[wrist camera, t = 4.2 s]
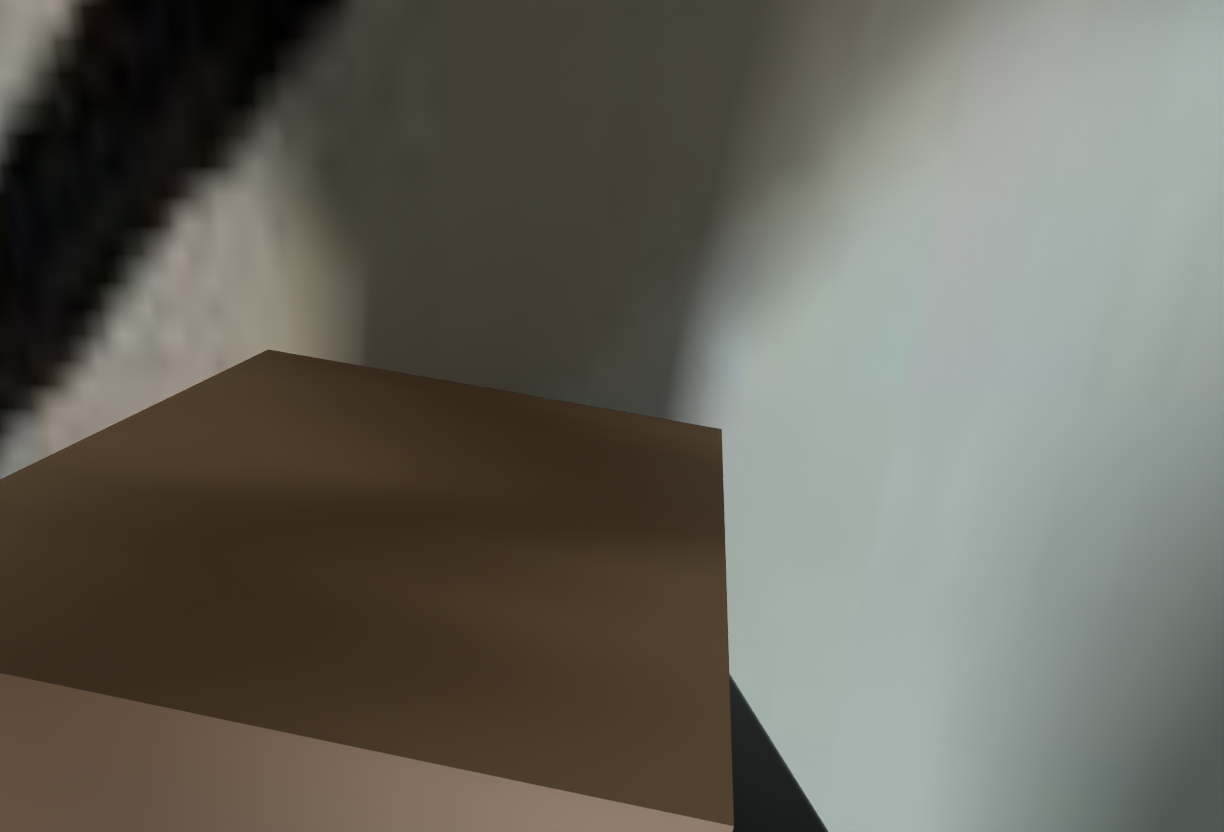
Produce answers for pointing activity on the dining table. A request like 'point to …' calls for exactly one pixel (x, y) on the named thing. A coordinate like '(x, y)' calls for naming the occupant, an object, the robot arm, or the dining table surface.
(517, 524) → the walnut cube
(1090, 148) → the dining table surface
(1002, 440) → the dining table surface
